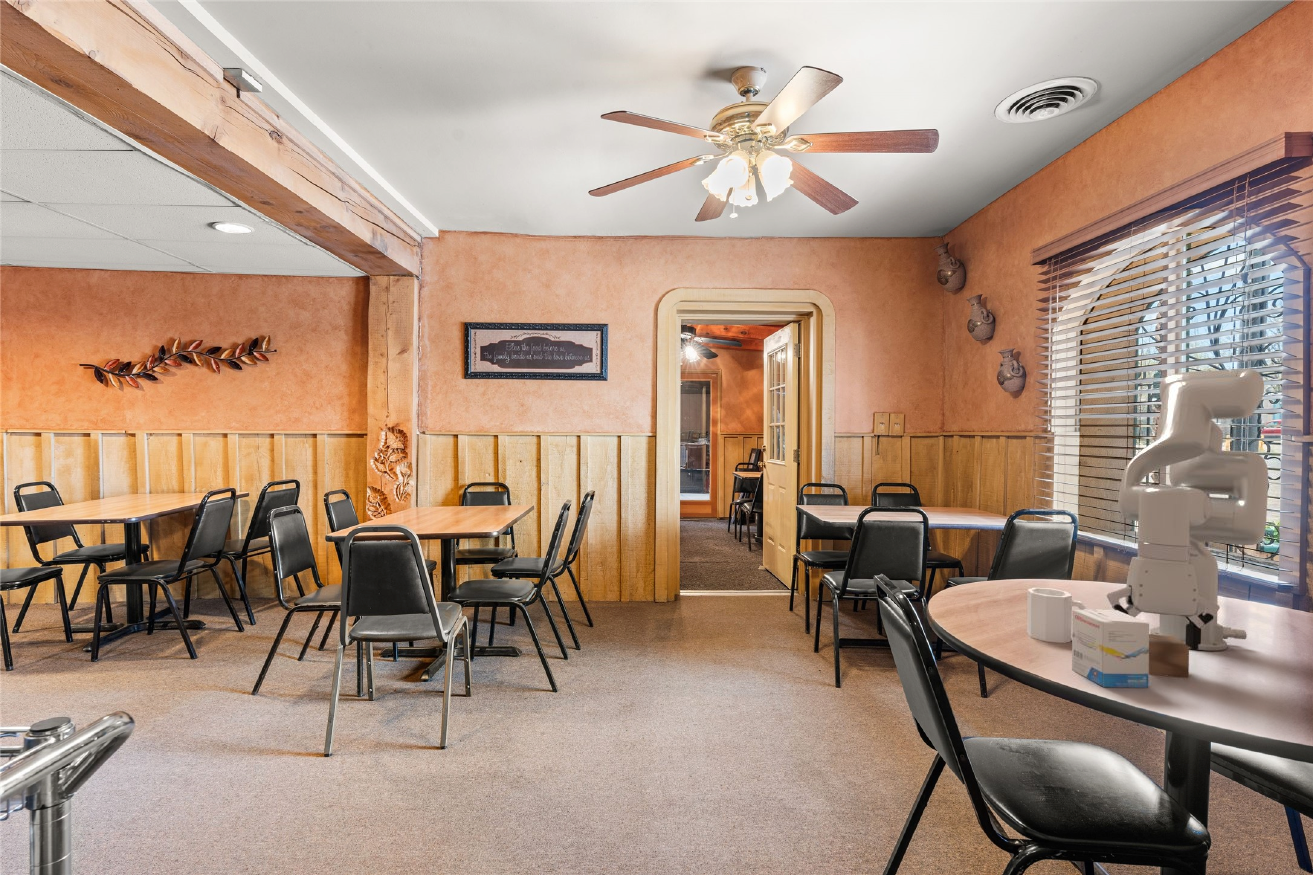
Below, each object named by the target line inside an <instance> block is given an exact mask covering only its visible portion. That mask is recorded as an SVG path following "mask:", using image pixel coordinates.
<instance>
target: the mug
mask: <svg viewBox="0 0 1313 875" xmlns="http://www.w3.org/2000/svg"><path fill="white" fill-rule="evenodd" d="M1026 600H1027V603H1026V604H1027V606H1026V607H1027V608H1026V609H1027V612H1026V615H1027V616H1026V622H1027V623H1026V634H1027V635H1028V636H1029V637H1030V638H1032V639H1036V640H1039V641H1043V642H1047V643H1048V642H1049V643H1059V644H1060V643H1061V644H1065V643H1069V642H1071V641H1072V611H1073V607H1077V608H1078V610H1084V609H1088V607H1087V606H1086V605H1085V604H1084V603H1083V602H1082V601H1080V600H1073V595H1072V594H1070V593H1069V592H1068V591H1066V590H1065V591H1064V590H1060V589H1055V588H1049V587H1032V588H1028V589H1027V599H1026Z"/></svg>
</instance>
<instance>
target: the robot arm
mask: <svg viewBox="0 0 1313 875" xmlns="http://www.w3.org/2000/svg"><path fill="white" fill-rule="evenodd" d="M1158 390H1159V397H1160V402H1161V405H1160V410H1159V419H1158V423H1157V430H1156V436H1155V440H1154V441H1153V442H1152V443H1149V444H1148V445H1147V446H1145V447H1143V448H1142V449H1141V450H1139V451H1138V452H1137V453H1136V454H1135V455H1134V456H1133V457H1132V458H1131V459H1130V460H1129V462H1128V463H1127V465H1126V466H1125V467H1124V471H1123V472H1122V476H1121V482H1120V488H1119V492H1118V499H1117V500H1118V501H1117V504H1118V510H1119V512H1120V514H1121V515H1122V516H1123V517H1124V518H1126V519H1127V520H1130V521H1134V522H1138V523H1137V524H1138V526H1137V527H1138V530H1137V531H1138V532H1137V533H1138V534H1137V540H1138V541H1137V556H1132V557H1131V560H1130V563H1129V567H1128V572H1127V578H1126V585H1125V586H1126V587H1123V588H1121V589H1118V590H1115V591H1112V592H1109V593H1107V594H1106V598H1107V599H1108V601H1109V603H1110V605H1111V608H1112V610H1118V611H1120V612H1123V613H1125V614H1127V615H1130V616H1132V617H1135V618H1137V617H1138V615H1140V614H1141V613H1145V614H1156V615H1159V626H1158V627H1157V626H1156V627H1153V628H1151V629H1149V634H1154V635H1164V636H1174V637H1175V638H1177V639H1179V640H1180V641H1182V642H1183V643H1185V644H1186V645H1188V646H1189V650H1190V649H1191V650H1195V651H1198V650H1200V651H1211V652H1212V651H1216V652H1217V651H1224V650H1225V649H1227V648H1228V645H1227V642H1226V640H1227V639H1228V638H1230V639H1231V638H1233V639H1236V640H1237V639H1238V640H1246V639H1247V636H1248V635H1247V632H1246V630H1245V629H1237V628H1232V627H1229V626H1223V625H1222V624H1219V623H1218V612H1219V610H1220V605H1219V604H1218V602H1219V601H1218V599H1219V598H1218V595H1219V593H1218V592H1219V591H1218V589H1219V588H1218V587H1219V585H1218V584H1219V564H1218V561H1217V559H1216V558H1215V556H1214V554H1213V553H1212V552H1211V551H1210V550H1209V549H1208V548H1207V547H1206V546H1205V545H1204V544H1203V543H1219V544H1228V545H1237V546H1239V545H1240V546H1254V545H1255V546H1256V545H1257V544H1260V543H1261V542H1262V540H1264V537H1265V535H1266V534H1265V533H1266V528H1267V515H1268V513H1267V511H1268V496H1269V494H1268V493H1269V469H1268V465H1267V462H1266V460H1265V458H1264V457H1263V456H1262V455H1260V454H1258V453H1256V452H1253V451H1247V450H1246V451H1244V450H1243V451H1242V450H1223V441H1224V440H1223V439H1224V433H1223V430H1222V428H1220V426H1219V425H1218V424H1217V423H1216V422H1215V421H1214V420H1221V419H1224V420H1230V419H1232V420H1235V419H1237V420H1238V419H1240V420H1241V419H1247V418H1250V417H1251V416H1253V414H1254V413H1255V411H1256V409H1257V408H1258V406H1259V405H1260V404H1261V402H1262V399H1263V396H1264V392H1265V382H1264V378H1263V376H1262V374H1261V373H1260V372H1258V371H1257V370H1255V369H1252V368H1239V369H1238V368H1237V369H1220V370H1199V371H1197V370H1196V371H1187V372H1184V371H1183V372H1178V373H1172V374H1169V375H1168V376H1167V375H1166V376H1165V377H1164V378H1162V379H1161V381H1160V383H1159V389H1158ZM1168 466H1169V472H1168V475H1169V476H1168V477H1169V482H1170V484H1171V485H1162V484H1161V485H1160V484H1159V485H1158V484H1157V485H1156V484H1141V483H1142V482H1143V480H1144V479H1145V478H1146V477H1147V476H1148V475H1150V474H1151V473H1152V472H1154V471H1156V470H1159V469H1162V468H1165V467H1168ZM1209 495H1222V496H1223V495H1224V496H1233V497H1234V498H1233V497H1216V496H1209ZM1123 598H1125V603H1126V607H1123V606H1122V605H1121V603H1120V599H1123Z"/></svg>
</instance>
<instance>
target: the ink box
mask: <svg viewBox="0 0 1313 875" xmlns="http://www.w3.org/2000/svg"><path fill="white" fill-rule="evenodd" d="M1149 634H1150V622H1147V621H1144V620H1143V619H1142V620H1141V619H1139V618H1137V617H1132V616H1130V615H1127V614H1125V613H1123V612H1120V611H1118V610H1114V609H1098V608H1095V609H1094V608H1087V609H1084V610H1080V609H1072V628H1071V641H1072V642H1071V649H1072V650H1071V653H1072V654H1071V670H1072V671H1073V672H1075V673H1077V674H1079V675H1081V676H1083V677H1085V678H1086V679H1088V680H1090V681H1092V682H1093V683H1095V684H1097V685H1099V686H1101V687H1103V688H1133V689H1135V688H1136V689H1137V688H1138V689H1139V688H1142V689H1144V688H1148V689H1149V687H1150V686H1149V676H1150V674H1149Z"/></svg>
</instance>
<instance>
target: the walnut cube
mask: <svg viewBox="0 0 1313 875" xmlns="http://www.w3.org/2000/svg"><path fill="white" fill-rule="evenodd" d="M1189 663H1190V648H1189V646H1188V645H1186V644H1185V643H1183V642H1182V641H1180V640H1179V639H1177V638H1175V637H1174V636H1164V635H1154V634H1150V633H1149V675H1150V676H1151V675H1152V676H1153V675H1154V676H1160V677H1169V678H1171V677H1172V678H1180V679H1189V678H1190V677H1189V673H1190V672H1189V671H1190V669H1189V668H1190V664H1189Z"/></svg>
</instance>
